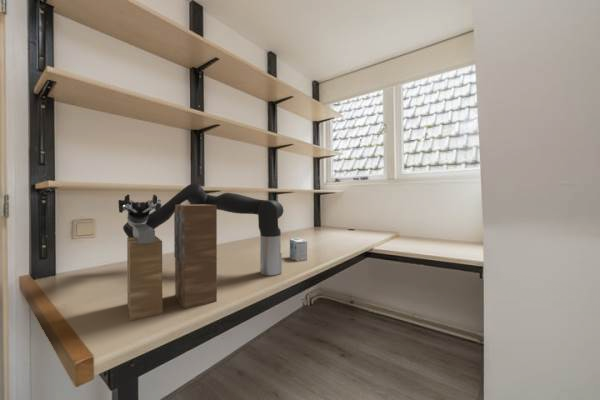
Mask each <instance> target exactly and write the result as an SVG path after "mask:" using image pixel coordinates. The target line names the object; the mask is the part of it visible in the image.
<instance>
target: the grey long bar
mask: <svg viewBox="0 0 600 400" xmlns="http://www.w3.org/2000/svg"><path fill="white" fill-rule="evenodd" d="M155 230H156V229H152V228H151V227H149V226H148V225H147V224H137V225H133V236H134V237H135V239H136V240H137V242H138V243H139V244H143V243H154V242H155V236H156V234H155V233H156V231H155Z"/></svg>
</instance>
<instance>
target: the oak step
mask: <svg viewBox="0 0 600 400" xmlns="http://www.w3.org/2000/svg"><path fill="white" fill-rule="evenodd" d="M126 239H127V240H126V242H127V243H126V244H127V245H126V247H127V249H126V250H127V254H126V255H127V256H126V257H127V260H126V262H127V273H126V274H127V280H126V281H127V286H126V287H127V288H126V289H127V291H126V292H127V308H128V314H129V319H130V321H134V320H138V319H143V318H146V317H150V316H155V315H158V314H163V241H162V239H160V238H159V237H158V236H156V235H155V242H154V243H143V244H139V243H138V242H137V240H136V239H135V237H130V238H128V237H126Z"/></svg>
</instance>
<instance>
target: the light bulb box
mask: <svg viewBox="0 0 600 400" xmlns="http://www.w3.org/2000/svg"><path fill="white" fill-rule="evenodd" d="M289 258H290V259H292V258H293V259H292V260H294V259H295V260H304V261H308V240H306V239H303V238H300V237H299V238H297V237H296V238H290V239H289ZM295 260H294V261H295Z"/></svg>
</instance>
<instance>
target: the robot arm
mask: <svg viewBox="0 0 600 400" xmlns="http://www.w3.org/2000/svg"><path fill="white" fill-rule="evenodd" d="M185 201H188V203H189V205H192V204H206V205H217V211H223V212H228V213H233V214H241V215H243V214H244V215H245V214H247V215H257V216H258V217H257V219H258V229H259V232H260V239H259V241H260V245H259V250H260V253H259V255H260V256H259V257H260V260H259V261H260V267H259V269H260V274H261V275H263V276H277V275H281V274H282V273H283V272H282V271H283V270H282V266H283V265H282V263H283V260H282V259H283V257H282V251H281V250H282V249H281V247H282V245H281V243H282V242H281V240H282V239H281V229H280V227H279V225H278V224H279V223H278V219H280V218H281V217H282V216H283V213H284V206H283V205H282V203H280V202H279V201H278V200H273V199H272V200H269V199H257V198H253V197H250V196H246V195H241V194H238V193H233V192H224V193H221V194H219V195H211V194H207V193H206V191H205V189H204V188H203V187H202V185H201V184H200V183H196V182H195V183H194V182H193V183H190V184H188V185H187V186H185V187H184V188H183V189H181V190H180V191H179V192H178V193H176V194H175V195H174V196H172V198H171V199H169V200H168V201H166V203H164V204H163V205H162V200H161V199H158V196H157V195H156V194H153V195H152V199H148V200H147V201H142V202H140V201H136V202H135V201H134V200H131V199H130V194H126V195H125V196H124V199H119V200H118V212H119V213H121V214H122V213H123V212H124V211H127V216H126V217H127V218H126V219H127V221H126V223H125V224H124V225H123V227H122V229H123V232H124V233H125V235H126V237H127V238H130V237H134V236H133V225H137V224H147V225H148V226H149V227H151V228H152V229H154V230H156V228H158V227H160V226H161V225H162V224H165V223H166V222H167V221H168V220H170V218H171V217H172V216H174V211H175V205H182V203H184V202H185ZM150 212H151V213H150Z"/></svg>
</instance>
